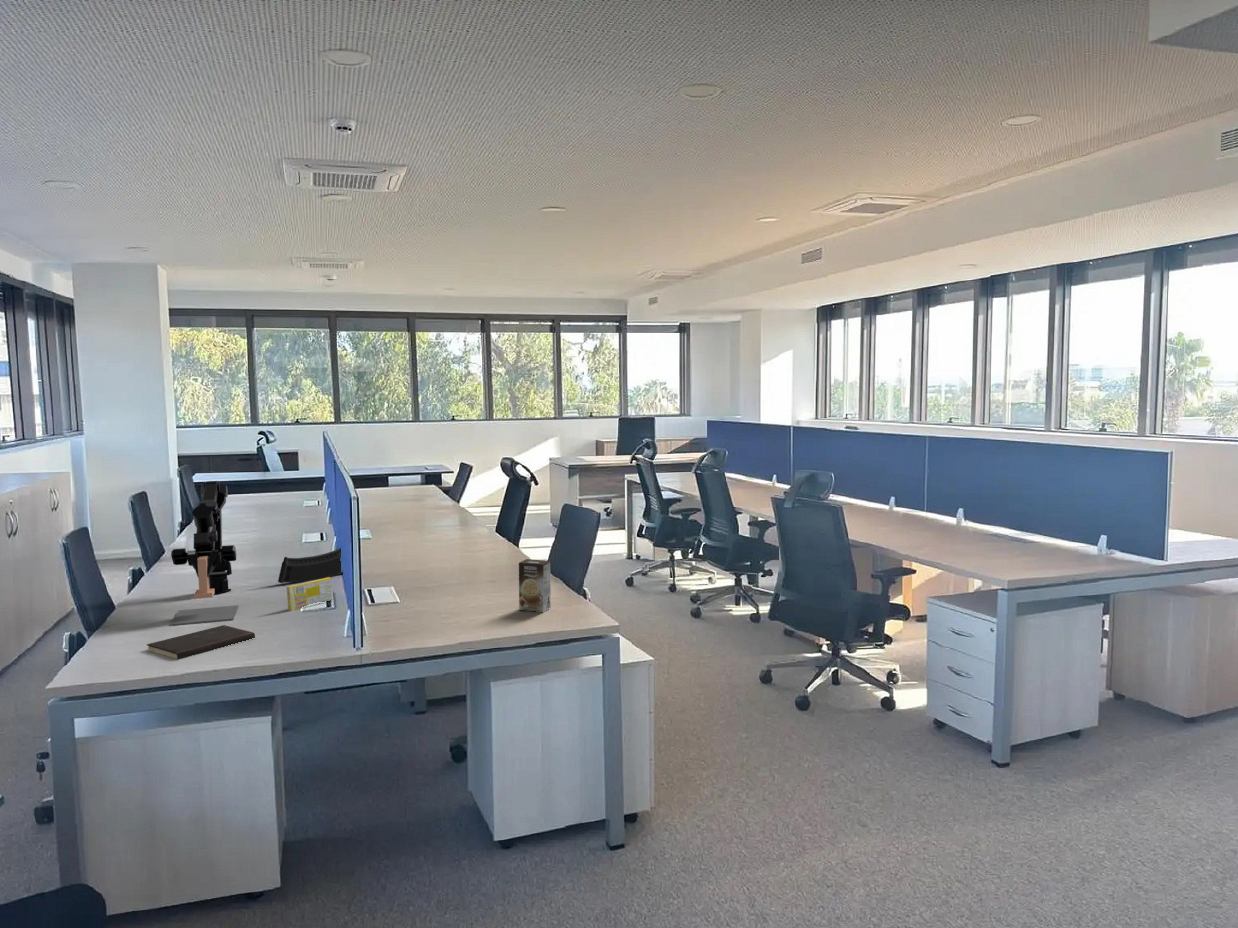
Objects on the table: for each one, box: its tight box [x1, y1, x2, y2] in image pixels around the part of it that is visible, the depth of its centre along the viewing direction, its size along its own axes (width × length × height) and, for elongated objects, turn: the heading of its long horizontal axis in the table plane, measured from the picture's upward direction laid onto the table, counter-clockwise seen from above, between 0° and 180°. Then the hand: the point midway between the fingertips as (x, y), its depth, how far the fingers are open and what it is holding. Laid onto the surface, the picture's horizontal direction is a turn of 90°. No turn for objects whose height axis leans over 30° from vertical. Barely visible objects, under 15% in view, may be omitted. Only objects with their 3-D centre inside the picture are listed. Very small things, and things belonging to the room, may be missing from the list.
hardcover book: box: [146, 624, 256, 661], centre depth 242 cm, size 16×23×2 cm
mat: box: [169, 604, 239, 627], centre depth 273 cm, size 18×18×1 cm
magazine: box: [277, 547, 342, 584], centre depth 325 cm, size 17×3×30 cm
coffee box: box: [518, 558, 552, 613], centre depth 275 cm, size 9×6×16 cm
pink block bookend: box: [193, 556, 215, 600], centre depth 272 cm, size 6×5×12 cm
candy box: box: [286, 577, 334, 612], centre depth 284 cm, size 16×2×8 cm, turn 144°
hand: (203, 576), depth 270 cm, fingers closed on pink block bookend, 2 cm apart
